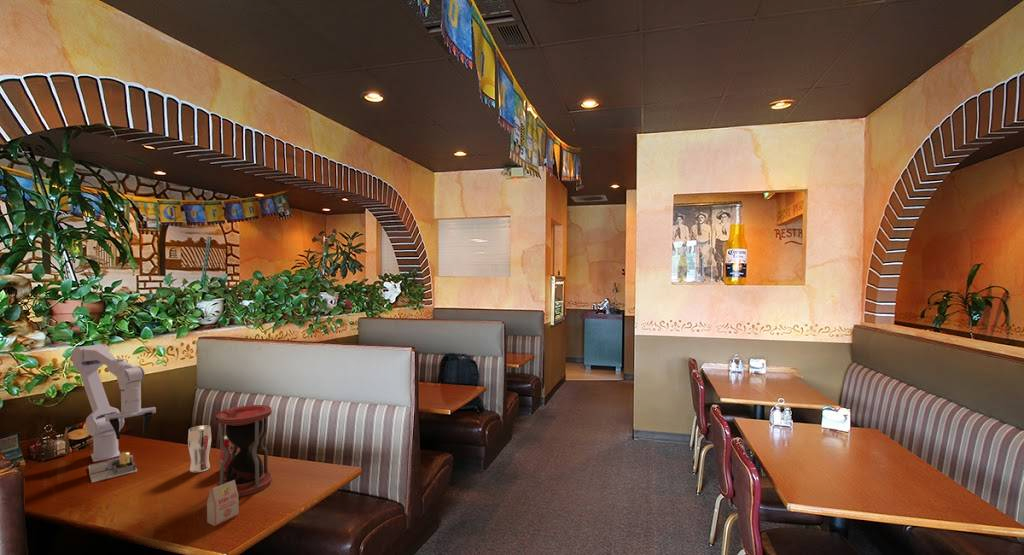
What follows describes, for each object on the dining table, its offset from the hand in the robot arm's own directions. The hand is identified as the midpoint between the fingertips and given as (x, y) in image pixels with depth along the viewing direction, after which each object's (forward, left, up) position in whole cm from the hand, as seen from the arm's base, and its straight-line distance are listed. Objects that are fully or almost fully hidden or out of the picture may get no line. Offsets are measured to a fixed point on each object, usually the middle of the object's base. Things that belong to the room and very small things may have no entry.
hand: (131, 435), depth 172 cm
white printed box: (+70, +12, -10) cm, 72 cm away
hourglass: (+52, +23, -10) cm, 58 cm away
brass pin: (+9, -3, -9) cm, 13 cm away
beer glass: (+26, +16, -10) cm, 32 cm away
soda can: (+34, +24, -10) cm, 43 cm away
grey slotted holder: (0, -6, -10) cm, 11 cm away
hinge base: (+8, -6, -10) cm, 14 cm away
